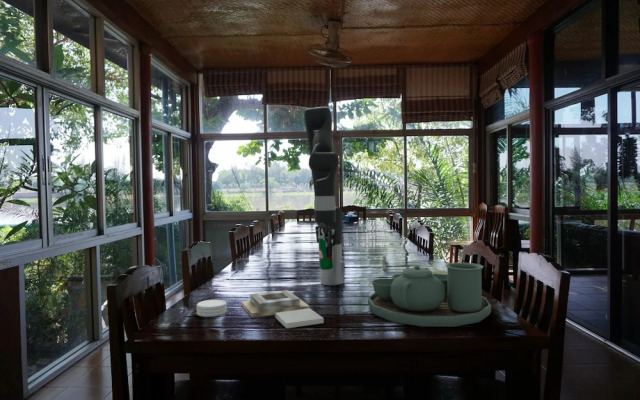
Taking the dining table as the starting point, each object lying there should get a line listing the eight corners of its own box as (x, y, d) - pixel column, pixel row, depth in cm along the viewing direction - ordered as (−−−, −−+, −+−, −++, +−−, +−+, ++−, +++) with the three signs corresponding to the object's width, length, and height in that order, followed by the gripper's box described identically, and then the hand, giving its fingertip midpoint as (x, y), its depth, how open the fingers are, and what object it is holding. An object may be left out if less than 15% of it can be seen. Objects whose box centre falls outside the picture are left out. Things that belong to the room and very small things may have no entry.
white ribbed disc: (193, 311, 151) (193, 301, 151) (221, 307, 156) (221, 297, 156) (200, 319, 142) (200, 308, 142) (230, 314, 147) (230, 304, 147)
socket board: (294, 299, 164) (294, 288, 164) (309, 310, 150) (309, 298, 149) (241, 305, 157) (241, 294, 157) (251, 317, 142) (251, 305, 142)
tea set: (478, 296, 164) (478, 252, 164) (501, 332, 125) (500, 274, 124) (372, 293, 172) (371, 251, 172) (362, 325, 133) (361, 271, 132)
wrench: (386, 267, 240) (386, 271, 210) (382, 267, 240) (382, 271, 210) (386, 252, 240) (386, 254, 211) (382, 252, 240) (382, 254, 211)
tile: (309, 312, 146) (309, 308, 146) (323, 322, 135) (323, 318, 135) (275, 317, 142) (275, 312, 142) (286, 328, 131) (286, 323, 131)
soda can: (318, 267, 158) (317, 234, 158) (332, 266, 159) (331, 234, 158) (319, 270, 153) (319, 236, 153) (334, 269, 154) (333, 235, 153)
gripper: (343, 209, 150) (344, 258, 151) (326, 207, 163) (327, 252, 164) (323, 210, 147) (324, 260, 148) (307, 208, 160) (309, 254, 161)
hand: (326, 256), depth 156 cm, fingers closed on soda can, 5 cm apart
